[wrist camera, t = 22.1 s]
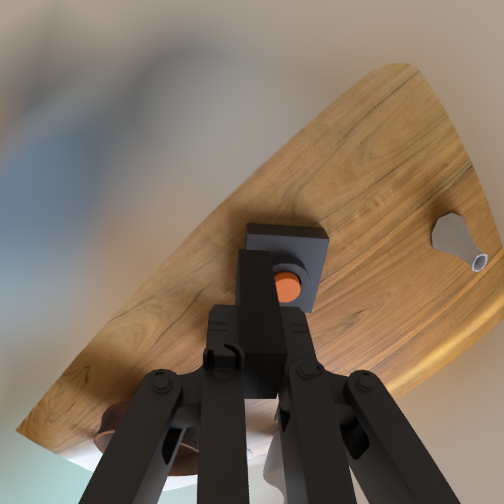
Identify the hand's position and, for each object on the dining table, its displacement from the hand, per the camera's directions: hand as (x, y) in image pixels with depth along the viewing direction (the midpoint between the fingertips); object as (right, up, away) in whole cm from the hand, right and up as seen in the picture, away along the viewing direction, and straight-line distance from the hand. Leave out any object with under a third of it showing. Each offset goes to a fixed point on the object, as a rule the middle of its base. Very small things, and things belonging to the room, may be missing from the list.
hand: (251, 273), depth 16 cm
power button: (+4, -3, +27) cm, 28 cm away
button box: (+4, -1, +31) cm, 32 cm away
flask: (+33, +5, +30) cm, 45 cm away
